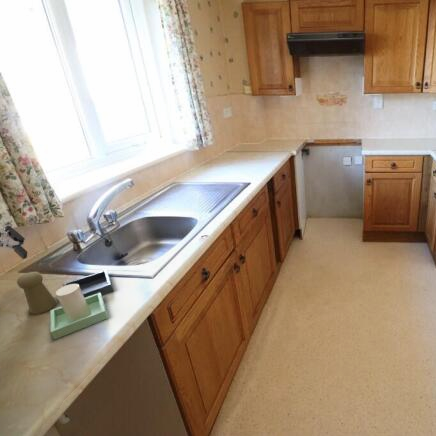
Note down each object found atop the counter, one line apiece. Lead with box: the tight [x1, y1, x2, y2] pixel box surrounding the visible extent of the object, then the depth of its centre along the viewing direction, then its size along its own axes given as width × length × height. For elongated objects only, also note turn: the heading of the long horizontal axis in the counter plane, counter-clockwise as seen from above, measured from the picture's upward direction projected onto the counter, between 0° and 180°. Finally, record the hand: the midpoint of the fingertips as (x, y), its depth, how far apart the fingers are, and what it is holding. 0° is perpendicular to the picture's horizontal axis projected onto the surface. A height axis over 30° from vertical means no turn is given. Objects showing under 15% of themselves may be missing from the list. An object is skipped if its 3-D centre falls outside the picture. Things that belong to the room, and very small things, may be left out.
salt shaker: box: [55, 284, 91, 322], centre depth 85 cm, size 5×5×9 cm
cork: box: [16, 271, 58, 315], centre depth 90 cm, size 6×6×11 cm
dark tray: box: [62, 269, 115, 298], centre depth 98 cm, size 12×11×2 cm
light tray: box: [49, 293, 109, 340], centre depth 87 cm, size 12×11×2 cm
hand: (7, 265), depth 89 cm, fingers open, 8 cm apart
